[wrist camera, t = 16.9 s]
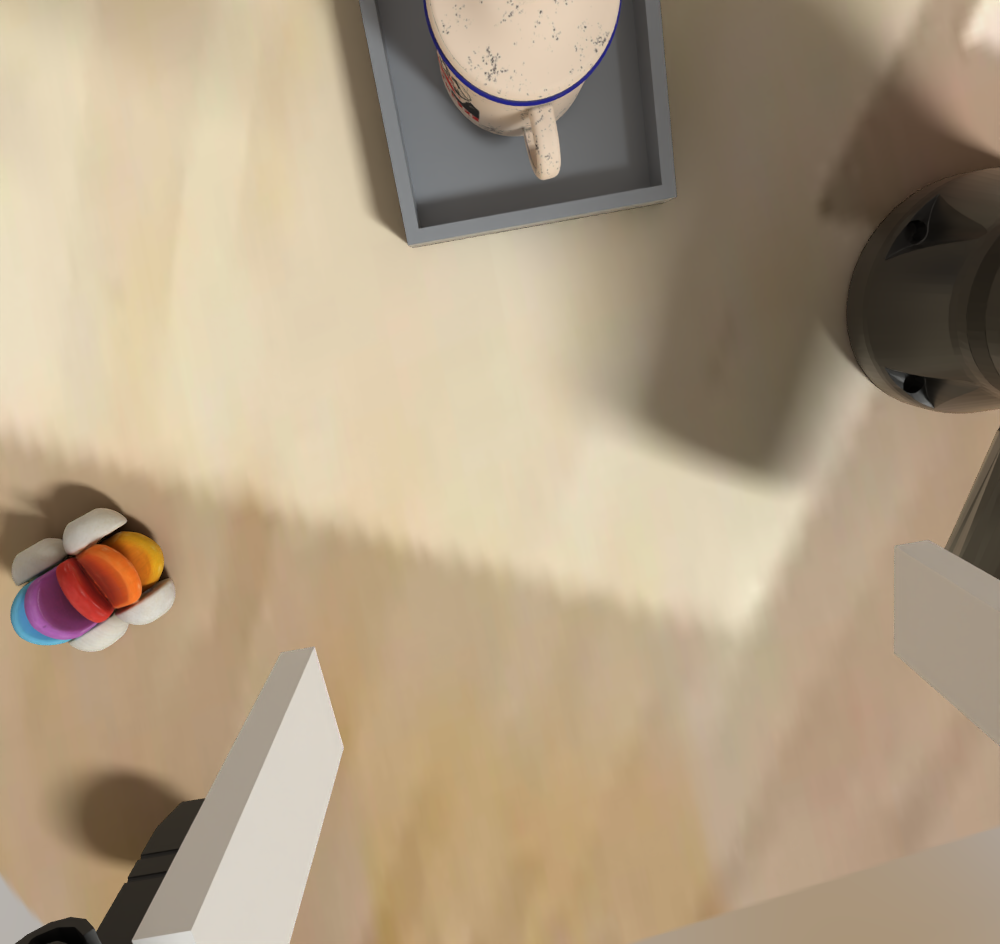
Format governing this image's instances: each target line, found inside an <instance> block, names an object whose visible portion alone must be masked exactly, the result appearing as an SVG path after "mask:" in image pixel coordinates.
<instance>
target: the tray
mask: <svg viewBox="0 0 1000 944" xmlns="http://www.w3.org/2000/svg"><path fill="white" fill-rule="evenodd" d="M359 3H360V8H361V13H362V18H363V23H364V28H365V33H366V38H367V43H368V48H369V53H370V58H371V63H372V68H373V73H374V78H375V83H376V88H377V93H378V98H379V103H380V108H381V113H382V118H383V123H384V128H385V133H386V138H387V143H388V148H389V153H390V158H391V163H392V168H393V173H394V178H395V183H396V188H397V193H398V198H399V203H400V208H401V213H402V218H403V223H404V228H405V233H406V238H407V243H408V246H410V247H412V248H415V247H421V246H426V245H432V244H437V243H443V242H449V241H454V240H460V239H465V238H471V237H476V236H482V235H487V234H493V233H499V232H504V231H510V230H515V229H521V228H526V227H532V226H538V225H543V224H549V223H554V222H560V221H565V220H571V219H576V218H582V217H588V216H593V215H599V214H604V213H610V212H615V211H621V210H627V209H632V208H638V207H643V206H649V205H654V204H660V203H664V202H666V201H669V200H671V199H673V198H676V197H677V193H676V181H675V169H674V158H673V146H672V134H671V123H670V111H669V100H668V88H667V76H666V65H665V53H664V42H663V30H662V18H661V7H660V0H622V1H621V9H620V15H619V20H618V24H617V28H616V31H615V34H614V37H613V39H612V42H611V44H610V46H609V48H608V50H607V52H606V54H605V56H604V57H603V59H602V60H601V62H600V64H599V65H598V66H597V68H596V69H595V70H594V71H593V73H592V74H591V75H590V76H589V77H588V78H587V79H586V80H585V82H584V84H583V86H582V88H581V89H580V91H579V93H578V95H577V97H576V99H575V100H574V102H573V103H572V105H571V106H570V107H569V109H568V110H567V111H566V112H565V113H564V114H563V115H562V116H561V117H560V118H559V119H558V120H557V121H556V125H557V131H558V137H559V145H560V155H561V166H560V171H559V173H558V175H557V176H555V177H554V178H550V179H546V180H541V179H539V178H538V177H537V176H536V175H535V173H534V171H533V169H532V166H531V163H530V160H529V156H528V153H527V148H526V144H525V139H524V136H502V135H498V134H494V133H491V132H488V131H486V130H484V129H482V128H480V127H478V126H477V125H475V124H474V123H473V122H471V121H470V120H469V119H468V118H467V117H465V116H464V115H463V114H462V112H461V111H460V110H459V109H458V108H457V106H456V105H455V104H454V102H453V101H452V99H451V97H450V96H449V94H448V92H447V89H446V87H445V85H444V82H443V79H442V75H441V71H440V66H439V60H438V55H437V49H436V47H435V44H434V42H433V40H432V37H431V35H430V32H429V29H428V25H427V21H426V17H425V11H424V3H423V0H359Z"/></svg>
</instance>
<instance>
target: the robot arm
mask: <svg viewBox="0 0 1000 944" xmlns="http://www.w3.org/2000/svg"><path fill="white" fill-rule="evenodd" d="M847 326H848V334H849V338H850V342H851V346H852V349H853V352H854V354H855V357H856V359H857V361H858V363H859V364H860V366H861V368H862V370H863V371H864V372H865V374H866V375H867V376H868V377H869V379H870V380H871V381H872V382H873V383H874V384H875V385H876V386H877V387H878V388H880V389H881V390H882V391H883V392H885V393H886V394H888V395H889V396H891V397H893V398H895V399H897V400H899V401H901V402H904V403H907V404H910V405H914V406H917V407H921V408H924V409H928V410H932V411H937V412H943V413H974V412H981V411H988V410H995V409H1000V167H997V168H988V169H982V170H977V171H973V172H968V173H964V174H959V175H955V176H951V177H948V178H945V179H942V180H940V181H937V182H935V183H933V184H931V185H928V186H927V187H925V188H923V189H921V190H919V191H918V192H916V193H915V194H913V195H912V196H910V197H909V198H908V199H906V200H905V201H904V202H902V203H901V204H900V205H899V206H898V207H897V208H895V209H894V210H893V211H892V212H891V213H890V214H889V215H888V216H887V218H886V219H885V220H884V221H883V222H882V223H881V224H880V226H879V227H878V228H877V229H876V231H875V232H874V234H873V235H872V236H871V238H870V240H869V241H868V243H867V244H866V246H865V248H864V250H863V252H862V254H861V256H860V258H859V260H858V262H857V265H856V268H855V270H854V273H853V277H852V280H851V284H850V288H849V294H848V301H847ZM894 654H896V655H897V656H898V657H899V658H900V659H901V660H902V661H904V662H905V663H906V664H907V665H908V666H909V667H910V668H911V669H913V670H914V671H915V672H916V673H917V674H918V675H919V676H921V677H922V678H923V679H924V680H925V681H926V682H927V683H928V684H930V685H931V686H932V687H933V688H934V689H935V690H936V691H938V692H939V693H940V694H941V695H942V696H943V697H944V698H945V699H947V700H948V701H949V702H950V703H951V704H952V705H953V706H955V707H956V708H957V709H958V710H959V711H960V712H961V713H962V714H964V715H965V716H966V717H967V718H968V719H969V720H970V721H972V722H973V723H974V724H975V725H976V726H977V727H978V728H980V729H981V730H982V731H983V732H984V733H985V734H986V735H987V736H989V737H990V738H991V739H992V740H993V741H994V742H995V743H997V744H998V745H999V746H1000V427H999V429H998V430H997V432H996V434H995V437H994V439H993V441H992V443H991V446H990V448H989V450H988V452H987V455H986V457H985V459H984V461H983V464H982V466H981V468H980V470H979V473H978V475H977V477H976V479H975V482H974V484H973V486H972V489H971V491H970V493H969V495H968V498H967V500H966V502H965V504H964V507H963V509H962V511H961V513H960V516H959V518H958V520H957V522H956V525H955V527H954V529H953V531H952V534H951V536H950V538H949V540H948V542H947V544H946V546H945V549H944V548H942V547H940V546H938V545H937V544H935V543H933V542H931V541H930V540H925V541H919V542H914V543H908V544H902V545H896V546H894ZM343 749H344V747H343V744H342V740H341V737H340V733H339V730H338V726H337V723H336V719H335V716H334V712H333V709H332V705H331V702H330V698H329V695H328V692H327V688H326V685H325V681H324V678H323V674H322V671H321V667H320V664H319V660H318V657H317V653H316V650H315V647H310V648H304V649H298V650H292V651H287V652H281V654H280V655H279V657H278V659H277V661H276V663H275V665H274V667H273V669H272V671H271V673H270V675H269V677H268V679H267V681H266V682H265V684H264V686H263V688H262V690H261V692H260V694H259V696H258V698H257V700H256V702H255V704H254V706H253V708H252V709H251V711H250V713H249V715H248V717H247V719H246V721H245V723H244V725H243V727H242V729H241V731H240V733H239V735H238V736H237V738H236V740H235V742H234V744H233V746H232V748H231V750H230V752H229V754H228V756H227V758H226V760H225V762H224V763H223V765H222V767H221V769H220V771H219V773H218V775H217V777H216V779H215V781H214V783H213V785H212V787H211V789H210V790H209V792H208V794H207V796H206V798H204V799H198V800H192V801H186V802H181V803H180V804H179V805H178V806H177V807H176V808H175V810H174V811H173V812H172V813H171V814H170V815H169V816H168V817H167V818H166V819H165V820H164V821H163V822H162V823H161V824H160V825H159V826H158V827H157V828H156V830H155V831H154V833H153V835H152V837H151V838H150V840H149V842H148V843H147V845H146V847H145V849H144V850H143V852H142V854H141V860H138V861H137V862H136V864H135V866H134V868H133V869H132V871H131V873H130V874H129V876H128V882H127V883H124V885H123V887H122V888H121V890H120V892H119V893H118V895H117V897H116V899H115V900H114V902H113V904H112V906H111V907H110V909H109V911H108V912H107V914H106V916H105V918H104V919H103V921H102V923H101V925H100V926H99V928H98V930H97V931H95V929H94V928H93V926H92V925H91V924H90V923H89V922H88V921H87V920H86V919H81V918H73V917H69V918H66V919H62V920H58V921H54V922H50V923H48V924H46V925H45V926H43V927H41V928H39V929H37V930H35V931H33V932H31V933H29V934H27V935H26V936H25V937H24V938H22V939H21V940H20V941H18V942H17V943H16V944H289V943H290V940H291V936H292V932H293V929H294V925H295V922H296V918H297V914H298V911H299V907H300V904H301V900H302V896H303V893H304V889H305V886H306V882H307V878H308V875H309V871H310V868H311V864H312V860H313V857H314V853H315V850H316V846H317V842H318V839H319V835H320V832H321V828H322V824H323V821H324V817H325V814H326V810H327V806H328V803H329V799H330V795H331V792H332V788H333V785H334V781H335V777H336V774H337V770H338V767H339V763H340V759H341V756H342V752H343Z"/></svg>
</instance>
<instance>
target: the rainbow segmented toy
mask: <svg viewBox="0 0 1000 944" xmlns="http://www.w3.org/2000/svg"><path fill="white" fill-rule="evenodd" d="M126 522H127V519H126V518H125V517H124V516H123V515H121V514H120V513H118V512H116V511H114V510H111V509H107V508H96V509H94V510H92V511H90V512H88V513H86V514H85V515H83V516H81V517H79V518H77V519H76V520H74V521H72V522H70V523H69V524H68V525H67V526H66V528H65V530H64V534H63V540H62V539H57V538H46V539H43V540H41V541H39V542H37V543H36V544H34V545H32V546H30V547H29V548H27V549H25V550H24V551H22V552H20V553H19V554H17V555H16V557H15V559H14V561H13V564H12V577H13V580H14V582H15V584H16V585H18V586H19V585H21V584H23V583H25V582H29V583H28V584H27V585H25V586H24V587H23V588H22V589H21V590H20V591H19V592H18V594H17V595H16V597H15V599H14V601H13V604H12V607H11V623H12V625H13V628H14V630H15V631H16V633H17V634H18V635H19V636H20V637H21V638H22V639H24V640H26V641H28V642H31V643H34V644H38V645H56V644H61V643H65V642H67V641H68V642H69V644H70V645H71V646H73V647H74V648H76V649H79V650H82V651H88V652H94V651H100V650H103V649H105V648H107V647H108V646H110V645H111V644H113V643H114V642H115V641H117V640H118V639H119V638H121V637H122V636H123V635H124V634H125V632H126V630H127V628H128V625H129V624H134V625H144V624H148V623H150V622H152V621H154V620H156V619H157V618H159V617H160V616H162V615H163V614H164V613H166V612H167V611H168V610H169V609H170V608H171V607H172V605H173V602H174V599H175V586H174V583H173V580H172V579H171V578H167V579H164V580H162V581H160V582H158V583H156V582H157V581H158V580H159V579H160V575H161V573H162V571H163V567H164V557H163V553H162V550H161V548H160V546H159V545H158V544H157V543H156V542H155V541H153V540H152V539H150V538H149V537H147V536H145V535H143V534H140V533H136V532H125V531H122V532H119V533H117V534H115V535H113V536H111V537H110V538H108V539H105V540H103V541H102V542H100V543H99V544H97V542H98V541H99V540H100V539H102V538H103V537H104V536H106V535H109V534H110V533H112V532H114V530H116V529H117V528H119V527H121V526H122V525H124V524H125V523H126ZM69 555H72V556H76V557H71V558H68V556H69ZM155 583H156V584H155Z"/></svg>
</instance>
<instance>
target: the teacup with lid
mask: <svg viewBox="0 0 1000 944" xmlns="http://www.w3.org/2000/svg"><path fill="white" fill-rule="evenodd" d="M621 1H622V0H423V3H424V11H425V17H426V21H427V25H428V29H429V32H430V35H431V37H432V40H433V42H434V44H435V47H436V49H437V55H438V60H439V66H440V71H441V75H442V79H443V82H444V85H445V87H446V89H447V92H448V94H449V96H450V97H451V99H452V101H453V102H454V104H455V105H456V106H457V108H458V109H459V110H460V111H461V112H462V114H463V115H464V116H465V117H467V118H468V119H469V120H470V121H471V122H473V123H474V124H475V125H477V126H478V127H480V128H482V129H484V130H486V131H488V132H491V133H494V134H498V135H502V136H524V139H525V144H526V148H527V153H528V156H529V160H530V163H531V166H532V169H533V171H534V173H535V175H536V176H537V177H538V178H539V179H541V180H546V179H550V178H554V177H555V176H557V175H558V173H559V171H560V166H561V155H560V145H559V137H558V131H557V125H556V121H557V120H558V119H559V118H560V117H561V116H562V115H563V114H564V113H565V112H566V111H567V110H568V109H569V107H570V106H571V105H572V103H573V102H574V100H575V99H576V97H577V95H578V93H579V91H580V89H581V88H582V86H583V84H584V82H585V80H586V79H587V78H588V77H589V76H590V75H591V74H592V73H593V71H594V70H595V69H596V68H597V66H598V65H599V64H600V62H601V60H602V59H603V57H604V56H605V54H606V52H607V50H608V48H609V46H610V44H611V42H612V39H613V37H614V34H615V31H616V28H617V24H618V20H619V15H620V9H621Z"/></svg>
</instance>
